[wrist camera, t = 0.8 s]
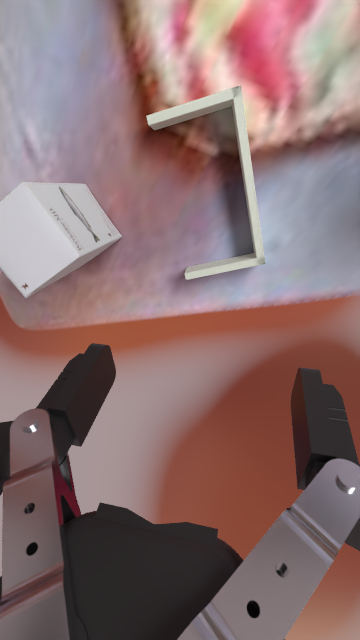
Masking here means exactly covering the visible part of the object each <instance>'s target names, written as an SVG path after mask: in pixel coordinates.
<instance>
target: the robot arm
mask: <svg viewBox="0 0 360 640" xmlns="http://www.w3.org/2000/svg"><path fill="white" fill-rule="evenodd" d="M115 376H116V369H115V365H114V361H113V357H112V353H111V349H110V346H108V345H101V344H91V345H90V346H89V347H88V349H87V350H86V351H85V353H84V354H78V355H77V356H76V357H74V358H73V359H72V360H70V361H69V363H68V364H67V365H66V367H65V368H64V370H63V372H61V374H60V375H59V377H58V379H57V380H56V381H55V382H54V384H53V385H52V386H51V388H50V389H49V391H48V392H47V394H46V395H45V397H44V398H43V399H42V401H41V402H40V403H39V405H38V406H37V407H36V409H31V410H28V411H26V412H24V413H22V414H21V415H19V416H18V417H17V418H16V419H15V420H14V421H9V422H3V423H0V495H1V494H2V492H3V531H2V532H3V533H2V542H3V543H2V576H1V577H0V640H285V639H284V638H285V637H286V635H287V633H288V632H289V630H290V629H291V627H292V625H293V624H294V622H295V621H296V619H297V618H298V616H299V614H300V613H301V611H302V610H303V608H304V606H305V605H306V603H307V602H308V600H309V598H310V597H311V595H312V594H313V592H314V591H315V589H316V587H317V586H318V584H319V583H320V581H321V579H322V578H323V576H324V575H325V573H326V571H327V570H328V568H329V567H330V565H331V564H332V562H333V560H334V559H335V557H336V555H337V553H338V551H339V549H340V548H341V546H342V545H343V543H344V542H345V543H346V544H348V545H350V546H352V547H354V548H355V549H357V550H359V551H360V464H359V462H358V459H357V455H356V451H355V447H354V443H353V439H352V435H351V431H350V427H349V423H348V421H347V420H348V419H347V415H346V412H345V407H344V403H343V399H342V396H341V395H340V394H339V392H338V391H337V389H336V388H335V387H334V386H333V385H328V384H323V383H322V378H321V373H320V371H319V370H317V369H307V368H298V371H297V375H296V379H295V382H294V386H293V390H292V395H291V415H292V426H293V439H294V451H295V463H296V475H297V487H298V489H302V490H304V492H303V493H302V494H301V495H300V497H299V498H298V499H297V500H296V502H295V503H294V504H293V505H292V506H291V507H290V508H287V509H286V510H285V511H284V512H283V513H282V514H281V515H280V517H279V518H278V519H277V520H276V522H275V523H274V524H273V525H272V526H271V528H270V529H269V530H268V532H267V533H266V534H265V535H264V536H263V538H262V539H261V540H260V541H259V543H258V544H257V545H256V546H255V547H254V549H253V550H252V551H251V553H250V554H249V555H248V556H247V558H246V559H245V560H243V559H242V558H241V557H240V555H239V554H238V553H237V552H236V551H235V550H234V549H233V548H232V547H231V546H229V545H228V544H227V543H225V542H224V541H222V540H221V539H219V538H217V533H218V529H215V528H211V527H206V526H201V525H197V524H193V523H188V522H183V523H170V524H152V523H150V522H149V521H147V520H145V519H144V518H142V517H140V516H138V515H137V514H135V513H134V512H132V511H130V510H129V509H127V508H122V507H117V506H113V505H108V504H104V503H100V504H99V506H98V509H97V511H93V512H89V513H85V514H83V515H81V511H80V508H79V505H78V502H77V499H76V495H75V489H74V483H73V478H72V472H71V466H70V461H69V455H68V450H69V448H70V447H71V445H75V446H80V447H81V446H82V444H83V442H84V440H85V438H86V436H87V434H88V432H89V430H90V428H91V426H92V424H93V422H94V420H95V418H96V416H97V414H98V412H99V410H100V408H101V406H102V404H103V403H104V401H105V398H106V396H107V395H108V393H109V391H110V389H111V387H112V385H113V383H114V380H115Z"/></svg>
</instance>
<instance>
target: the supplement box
mask: <svg viewBox="0 0 360 640" xmlns="http://www.w3.org/2000/svg"><path fill="white" fill-rule="evenodd" d="M121 237H122V236H121V234H120V233H119V232H118V230H117V229H116V228H115V227H114V225H113V224H112V222H111V221H110V220H109V218H108V217H107V215H106V214H105V213H104V211H103V210H102V208H101V207H100V205H99V204H98V202H97V201H96V199H95V198H94V196H93V195H92V193H91V192H90V190H89V189H88V187H87V186H86V184H76V183H42V182H21V184H20V185H18V186H17V187H16V188H15V189H14V190H13V191H12V192H11V193H10V194H9V195H7V196H6V197H5V198H4V199H3V200H2V201H1V202H0V270H1V271H2V272H3V273H4V274H5V275H6V276H7V277H8V279H9V280H10V281H11V282H12V283H13V284H14V286H15V287H16V288H17V289H18V290H19V291H20V293H21V294H22V295H23V296H24V298H28V297H29V296H31V295H33V294H34V293H36V292H38V291H40V290H41V289H43V288H45V287H47V286H48V285H50V284H52V283H54V282H55V281H57V280H59V279H61V278H62V277H64V276H66V275H67V274H69V273H71V272H73V271H74V270H76V269H78V268H80V267H81V266H83V265H84V264H86V263H87V262H88V261H90V260H91V259H93V258H94V257H96V256H97V255H98V254H100V253H101V252H103V251H104V250H105V249H107V248H108V247H109V246H111V245H112V244H113V243H115V242H116V241H118V240H119V239H120V238H121Z"/></svg>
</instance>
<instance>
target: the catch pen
mask: <svg viewBox="0 0 360 640" xmlns="http://www.w3.org/2000/svg"><path fill="white" fill-rule="evenodd" d="M228 107H232V110H233V116H234V123H235V130H236V136H237V143H238V150H239V156H240V163H241V170H242V176H243V183H244V190H245V196H246V203H247V210H248V216H249V223H250V230H251V236H252V243H253V250H254V253H250V254H246V255H241V256H236V257H232V258H227V259H222V260H218V261H213V262H208V263H204V264H199V265H194V266H190V267H187V268H186V271H185V273H184V274H185V278H186V280H188V279H193V278H198V277H203V276H208V275H213V274H218V273H223V272H227V271H232V270H237V269H242V268H247V267H252V266H257V265H262V264H265V258H264V251H263V243H262V236H261V229H260V222H259V214H258V207H257V200H256V193H255V185H254V178H253V171H252V164H251V156H250V149H249V142H248V135H247V127H246V120H245V113H244V106H243V98H242V91H241V85H240V86H237V87H234V88H231V89H228V90H225V91H222V92H219V93H216V94H213V95H209V96H206V97H203V98H200V99H197V100H194V101H191V102H188V103H185V104H182V105H179V106H175V107H172V108H169V109H166V110H163V111H160V112H157V113H154V114H151V115H148V116H147V120H148V124H149V126H150V127H151V128H152V129H154V130H158V129H161V128H164V127H167V126H171V125H174V124H177V123H180V122H183V121H187V120H190V119H193V118H196V117H199V116H203V115H206V114H209V113H212V112H216V111H219V110H222V109H225V108H228Z"/></svg>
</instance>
